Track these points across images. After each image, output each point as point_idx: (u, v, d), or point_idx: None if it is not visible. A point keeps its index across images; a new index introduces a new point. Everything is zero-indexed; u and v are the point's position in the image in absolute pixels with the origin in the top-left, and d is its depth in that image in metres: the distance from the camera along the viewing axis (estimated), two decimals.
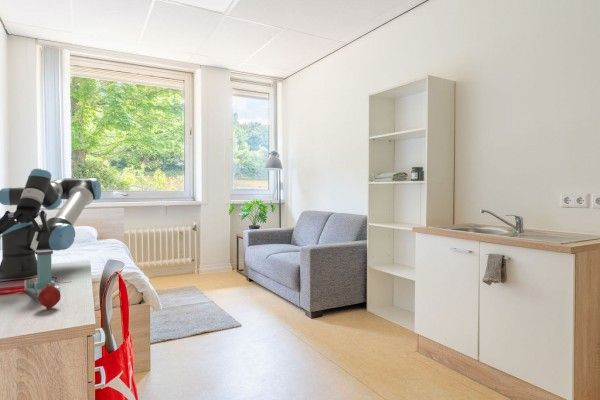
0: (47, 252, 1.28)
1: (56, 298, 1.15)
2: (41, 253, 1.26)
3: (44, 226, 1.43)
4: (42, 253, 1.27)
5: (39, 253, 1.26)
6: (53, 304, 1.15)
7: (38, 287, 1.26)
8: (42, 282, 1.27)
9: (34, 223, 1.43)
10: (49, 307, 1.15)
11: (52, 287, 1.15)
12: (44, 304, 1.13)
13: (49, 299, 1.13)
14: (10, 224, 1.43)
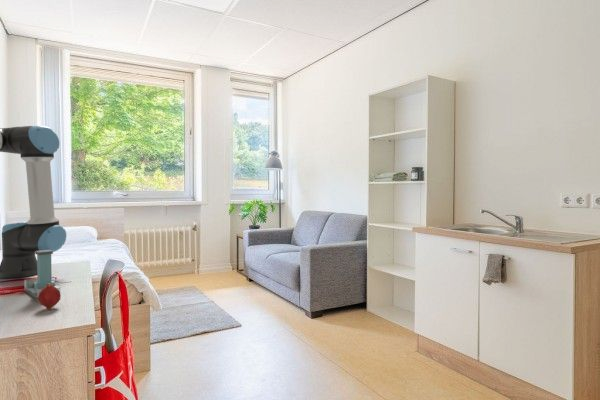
0: (47, 252, 1.28)
1: (56, 298, 1.15)
2: (41, 253, 1.26)
3: None
4: (42, 253, 1.27)
5: (39, 253, 1.26)
6: (53, 304, 1.15)
7: (38, 287, 1.26)
8: (42, 282, 1.27)
9: None
10: (49, 307, 1.15)
11: (52, 287, 1.15)
12: (44, 304, 1.13)
13: (49, 299, 1.13)
14: None
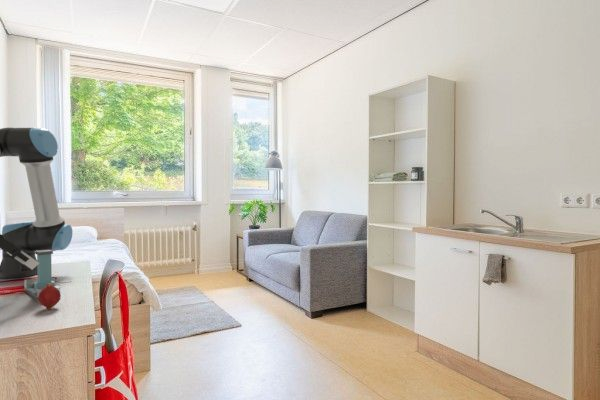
0: (47, 252, 1.28)
1: (56, 298, 1.15)
2: (41, 253, 1.26)
3: (8, 252, 1.14)
4: (42, 253, 1.27)
5: (39, 253, 1.26)
6: (53, 304, 1.15)
7: (38, 287, 1.26)
8: (42, 282, 1.27)
9: (2, 248, 1.16)
10: (49, 307, 1.15)
11: (52, 287, 1.15)
12: (44, 304, 1.13)
13: (49, 299, 1.13)
14: None
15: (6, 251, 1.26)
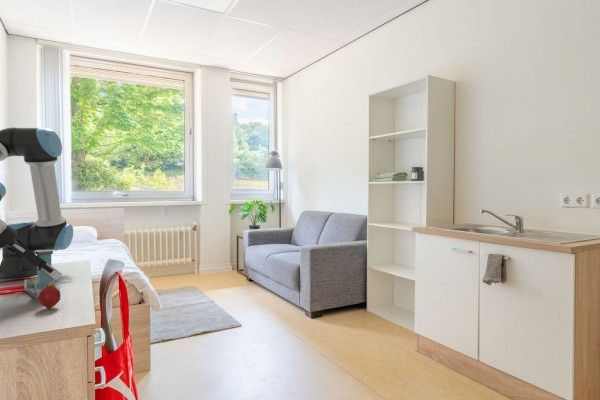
0: (47, 252, 1.28)
1: (56, 298, 1.15)
2: (41, 253, 1.26)
3: (35, 264, 1.23)
4: (42, 253, 1.27)
5: (39, 253, 1.26)
6: (53, 304, 1.15)
7: (38, 287, 1.26)
8: (42, 282, 1.27)
9: (28, 259, 1.24)
10: (49, 307, 1.15)
11: (52, 287, 1.15)
12: (44, 304, 1.13)
13: (49, 299, 1.13)
14: None
15: (36, 265, 1.29)
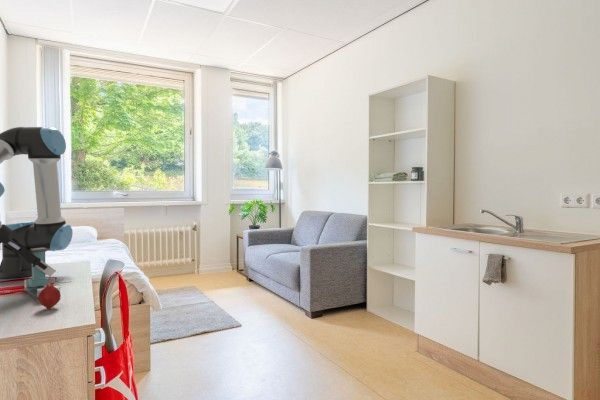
0: (41, 250, 1.33)
1: (56, 298, 1.15)
2: (35, 251, 1.32)
3: (30, 261, 1.29)
4: (36, 251, 1.32)
5: (33, 251, 1.32)
6: (53, 304, 1.15)
7: (32, 283, 1.31)
8: (36, 278, 1.33)
9: (22, 257, 1.29)
10: (49, 307, 1.15)
11: (52, 287, 1.15)
12: (44, 304, 1.13)
13: (49, 299, 1.13)
14: None
15: (31, 262, 1.35)
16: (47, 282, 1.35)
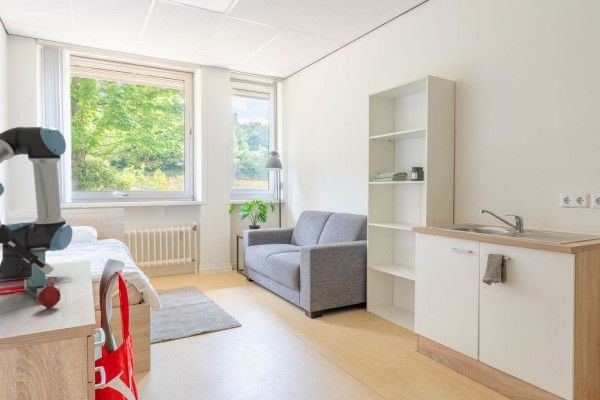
0: (41, 250, 1.33)
1: (56, 298, 1.15)
2: (35, 251, 1.32)
3: (27, 259, 1.25)
4: (36, 251, 1.32)
5: (33, 251, 1.32)
6: (53, 304, 1.15)
7: (32, 283, 1.31)
8: (36, 278, 1.33)
9: (21, 255, 1.27)
10: (49, 307, 1.15)
11: (52, 287, 1.15)
12: (44, 304, 1.13)
13: (49, 299, 1.13)
14: None
15: (22, 257, 1.37)
16: (47, 282, 1.35)
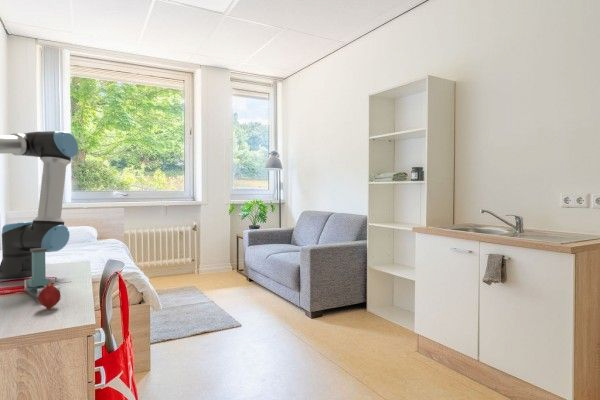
0: (41, 250, 1.33)
1: (56, 298, 1.15)
2: (35, 251, 1.32)
3: None
4: (36, 251, 1.32)
5: (33, 251, 1.32)
6: (53, 304, 1.15)
7: (32, 283, 1.31)
8: (36, 278, 1.33)
9: None
10: (49, 307, 1.15)
11: (52, 287, 1.15)
12: (44, 304, 1.13)
13: (49, 299, 1.13)
14: None
15: None
16: (47, 282, 1.35)
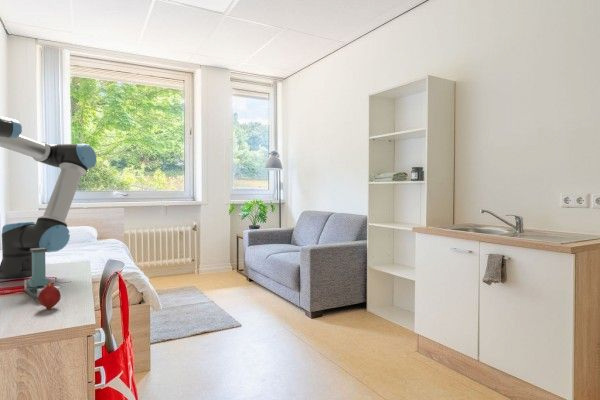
0: (41, 250, 1.33)
1: (56, 298, 1.15)
2: (35, 251, 1.32)
3: None
4: (36, 251, 1.32)
5: (33, 251, 1.32)
6: (53, 304, 1.15)
7: (32, 283, 1.31)
8: (36, 278, 1.33)
9: None
10: (49, 307, 1.15)
11: (52, 287, 1.15)
12: (44, 304, 1.13)
13: (49, 299, 1.13)
14: None
15: None
16: (47, 282, 1.35)
